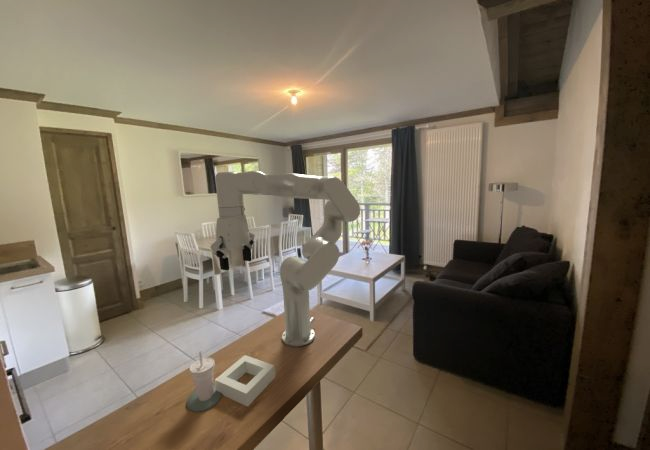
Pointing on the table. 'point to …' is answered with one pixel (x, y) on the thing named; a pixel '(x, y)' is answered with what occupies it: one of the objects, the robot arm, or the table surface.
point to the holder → (250, 391)
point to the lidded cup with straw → (203, 377)
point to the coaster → (200, 406)
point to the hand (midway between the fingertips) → (236, 265)
